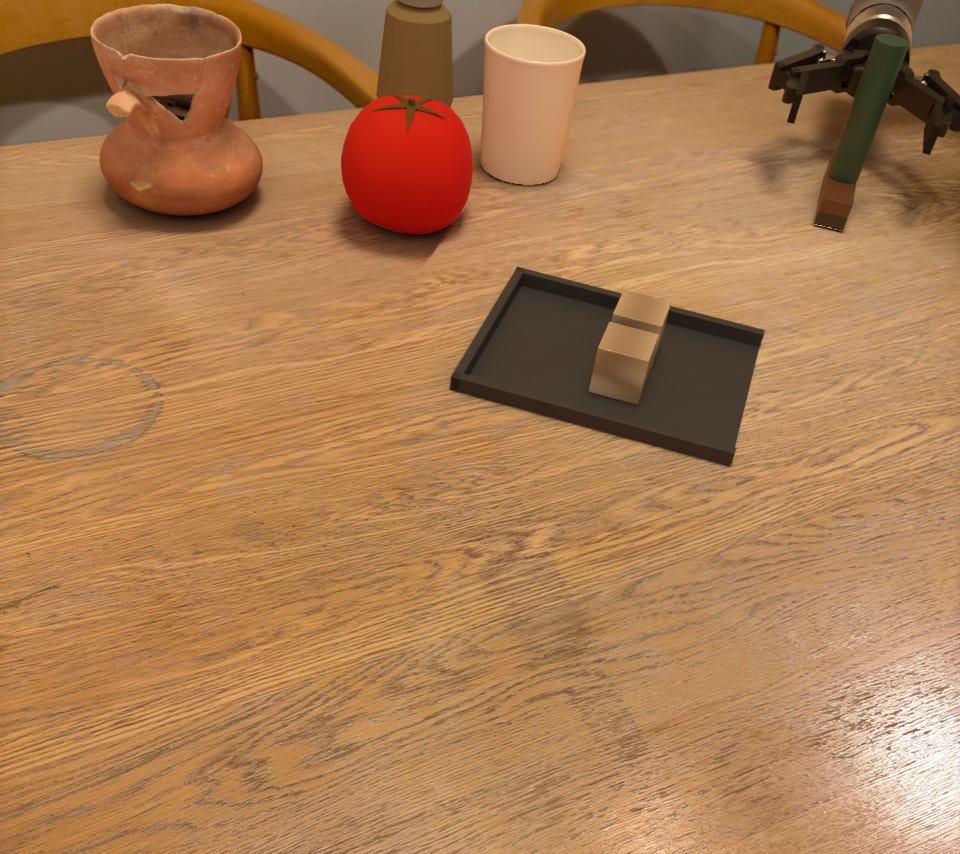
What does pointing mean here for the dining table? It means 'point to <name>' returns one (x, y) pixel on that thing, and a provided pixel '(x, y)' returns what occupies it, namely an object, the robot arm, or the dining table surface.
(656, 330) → the cube
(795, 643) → the dining table surface
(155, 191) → the ceramic jug
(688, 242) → the dining table surface
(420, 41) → the squeeze bottle
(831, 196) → the brush
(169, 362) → the dining table surface
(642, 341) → the cube
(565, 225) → the dining table surface
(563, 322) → the tray
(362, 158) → the tomato
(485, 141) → the pink cup
